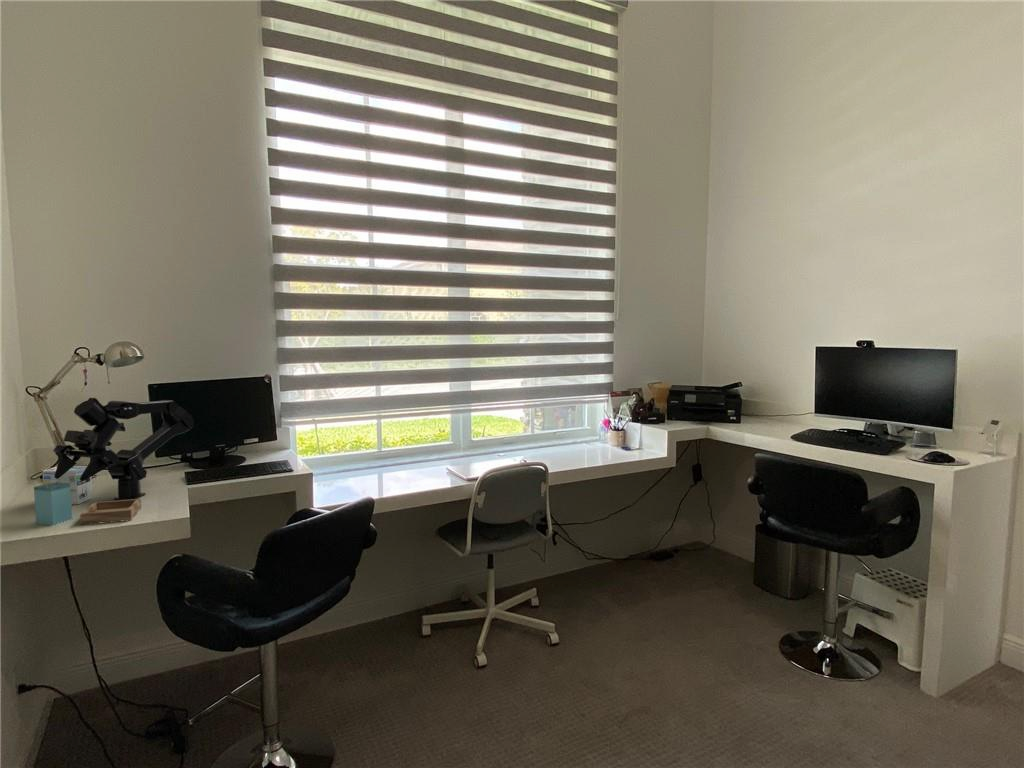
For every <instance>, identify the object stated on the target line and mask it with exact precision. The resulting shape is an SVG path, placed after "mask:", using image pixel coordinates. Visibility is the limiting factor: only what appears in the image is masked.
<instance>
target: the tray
mask: <svg viewBox="0 0 1024 768" xmlns="http://www.w3.org/2000/svg"><path fill="white" fill-rule="evenodd" d="M141 509H142V499H141V498H136V499H130V500H105V501H95V502H94V501H93V503H92V504H90V505H89V506H88V507H87V508H86V509H85V510H84V511H83V512H81V513H80V514H79V515H80V525H81V524H86V525H91V524H90V523H97V524H100V523H99V522H109V523H112V522H111V521H120V522H122V521H121V520H131V521H132V520H133V519H134V518H135V516H136V515H137V514H138V513H139V512H138V511H141ZM137 512H138V513H137ZM133 517H134V518H133ZM132 518H133V519H132Z"/></svg>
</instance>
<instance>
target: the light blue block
mask: <svg viewBox="0 0 1024 768" xmlns="http://www.w3.org/2000/svg"><path fill="white" fill-rule="evenodd" d="M33 491H34V492H33V493H34V494H33V495H34V507H35V511H34V512H35V524H36V523H38V524H37V525H43V524H46V526H51V525H54V526H57V525H59V524H58V523H60V524H62V523H61V522H63V523H65V522H64V521H66V522H68V521H67V520H69V521H72V520H73V511H72V510H73V509H72V507H73V506H72V504H71V490H70V484H69V483H59V481H58V480H57V481H53V482H49V483H46V484H44V485H43V484H40V485H37V486H33ZM71 519H72V520H71ZM56 524H57V525H56Z"/></svg>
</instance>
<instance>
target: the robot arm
mask: <svg viewBox="0 0 1024 768" xmlns="http://www.w3.org/2000/svg"><path fill="white" fill-rule="evenodd" d="M73 413H74V415H76V416H77V417H78V418H79V419H80V420H82V421H83V422H84V423H86V425H88V426H90V427H93V428H92V429H84V430H83V431H80V430H68V429H67V430H66V433H65V435H64V437H63V442H69V443H72V444H73V445H71V444H57V445H56V446H55V447H54V448H53V451H52V452H54V453H55V455H56V456H57V459H58V461H57V466H56V467H57V469H56V472H55V476H54V477H55V478H56V479H58V478H60V477H61V476H62V475H64V474H65V473H66V472H67V471H68V470H69V469H71V468H72V467H73V466H75V465H77V462H78V461H80V459H81V458H88V459H89V462H88V464H87V465H86V466H87V467H86V469H85V471H84V472H83V474H82V475H81V477H80V480H81V481H84V480H86V479H88V478H89V477H91V478H92V477H93V476H94V475H96V474H98V473H100V472H101V471H104V470H106V469H107V471H108V473H109V475H110V477H111V479H112V480H117V496H116V497H114V498H113V500H114V501H117V500H130V499H140V497H143V496H145V495H146V492H142V489H141V481H142V480H143V479H146V478H147V473H148V472H147V470H146V469H145V468H143V466H144V465H143V464H144V461H145V460H146V459H147V458H148V457H150V456H151V455H152V454H153V453H154V452H155V451H157V450H159V448H161V447H162V446H163V445H165V443H167V442H168V441H169V440H171V439H172V438H173V437H175V436H177V435H182V434H184V433H186V432H188V431H190V430H191V429H192V428H193V427H194V423H195V419H194V418H193V416H192V414H190V413H189V412H188V411H187V410H185V409H184V408H183V407H181V406H179V404H178V403H177V402H176V401H174V400H169V399H162V400H157V401H142V402H140V401H139V402H136V401H128V400H127V401H125V400H110V401H108V402H107V404H105V405H103V404H102V403H101V402H100V401H99V400H98V398H96V397H89V398H88V399H87V400H85V401H83V402H81V403H79V404H77V405H76V406H75V408H74V410H73ZM156 413H160V416H161V419H162V420H163V422H162V426H161V427H160V428H159V429H157V430H156V431H155V432H153V433H152V434H150V436H148V437H147V438H146V439H144V440H143V441H141V443H139V444H138V445H136V446H135V447H134V448H133V449H120V450H119V451H117V452H115V451H113V450H112V449H111V448H110V447H111V445H112V444H113V442H111V440H112V439H113V437H114V436H115V435H116V433H117V432H126V426H125V423H124V422H119V420H130V419H134V418H137V417H138V416H141V415H147V414H156ZM76 448H77V449H76Z"/></svg>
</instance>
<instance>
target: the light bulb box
mask: <svg viewBox="0 0 1024 768" xmlns="http://www.w3.org/2000/svg"><path fill="white" fill-rule="evenodd" d="M87 466H88V465H86V466H85V465H84V466H83V465H82V466H81V465H79V466H78V465H77V466H75V465H74V466H73V467H72V468H71V469H69V470H68V471H67V472H66V473H65V474H64V475H62V476H61V477H60V478H58V479H56V478H55V477H54V476H55V472H56V469H57V466H54V467H51V468H47V469H44V470H42V471H41V472H42V485H44V484H46V483H49V482H53V481H57V480H58V481H59V483H69V484H70V490H71V505H80V504H82V503H85V502H86V501H89V500H91V499H93V486H92V485H93V484H92V476H91V477H89V478H88V479H86V480H84V481H81V480H80V477H81V475H82V474H83V472H84V471H85V469H86V467H87Z"/></svg>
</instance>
